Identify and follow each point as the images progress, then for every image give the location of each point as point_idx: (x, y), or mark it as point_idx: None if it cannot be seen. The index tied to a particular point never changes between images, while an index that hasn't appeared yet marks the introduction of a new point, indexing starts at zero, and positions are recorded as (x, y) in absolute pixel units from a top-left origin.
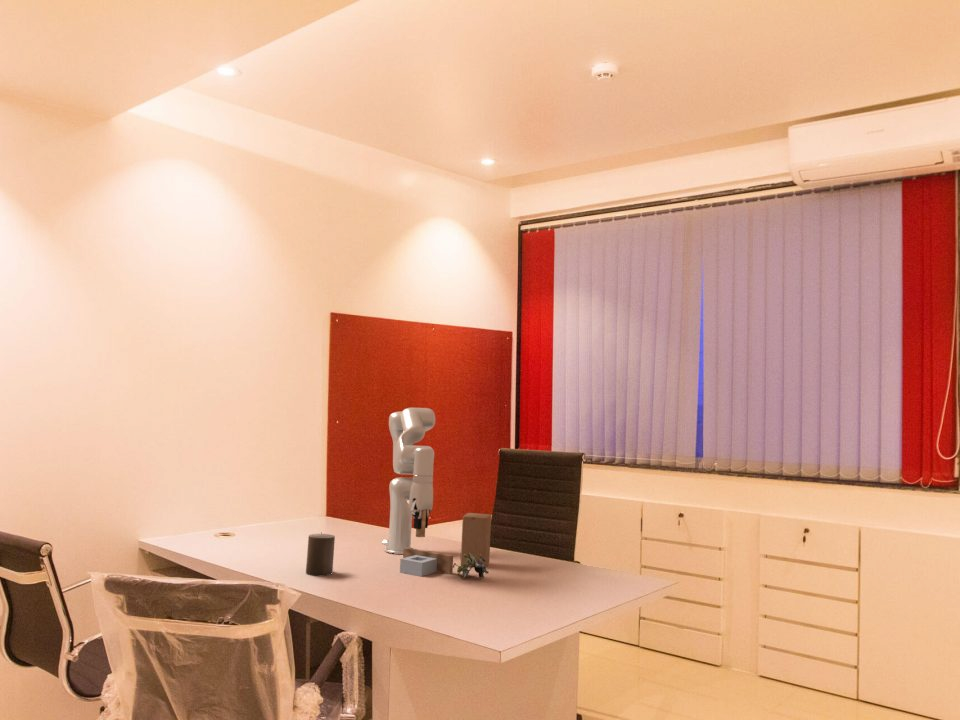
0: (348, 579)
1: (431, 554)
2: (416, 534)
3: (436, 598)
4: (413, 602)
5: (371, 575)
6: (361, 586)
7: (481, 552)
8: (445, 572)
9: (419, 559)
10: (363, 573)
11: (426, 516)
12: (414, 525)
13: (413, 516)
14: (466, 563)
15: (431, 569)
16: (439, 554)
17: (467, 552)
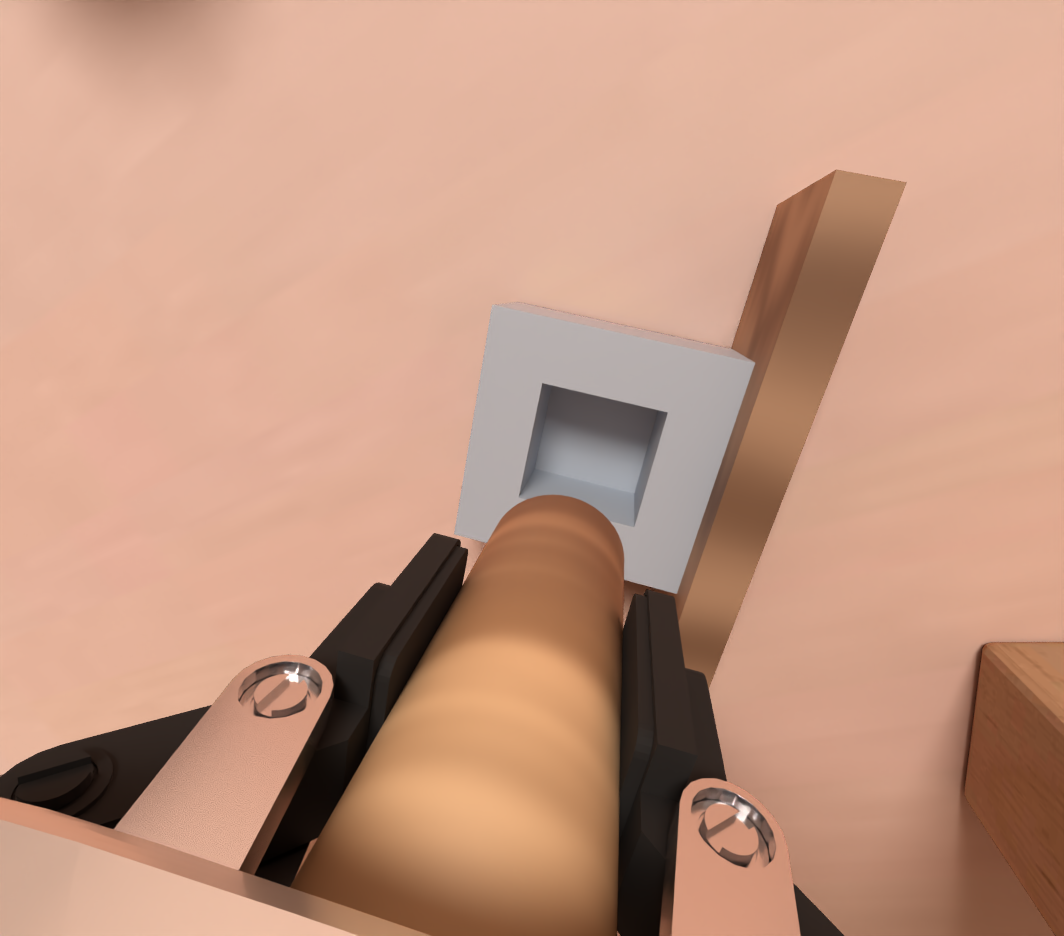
0: (120, 44)
1: (699, 552)
2: (493, 532)
3: (143, 687)
4: (27, 619)
5: (323, 137)
6: (53, 249)
7: (1042, 892)
8: None
9: (659, 433)
10: (341, 30)
11: (634, 917)
12: (372, 587)
13: (233, 688)
14: (990, 699)
15: None
16: None
17: (1055, 779)
